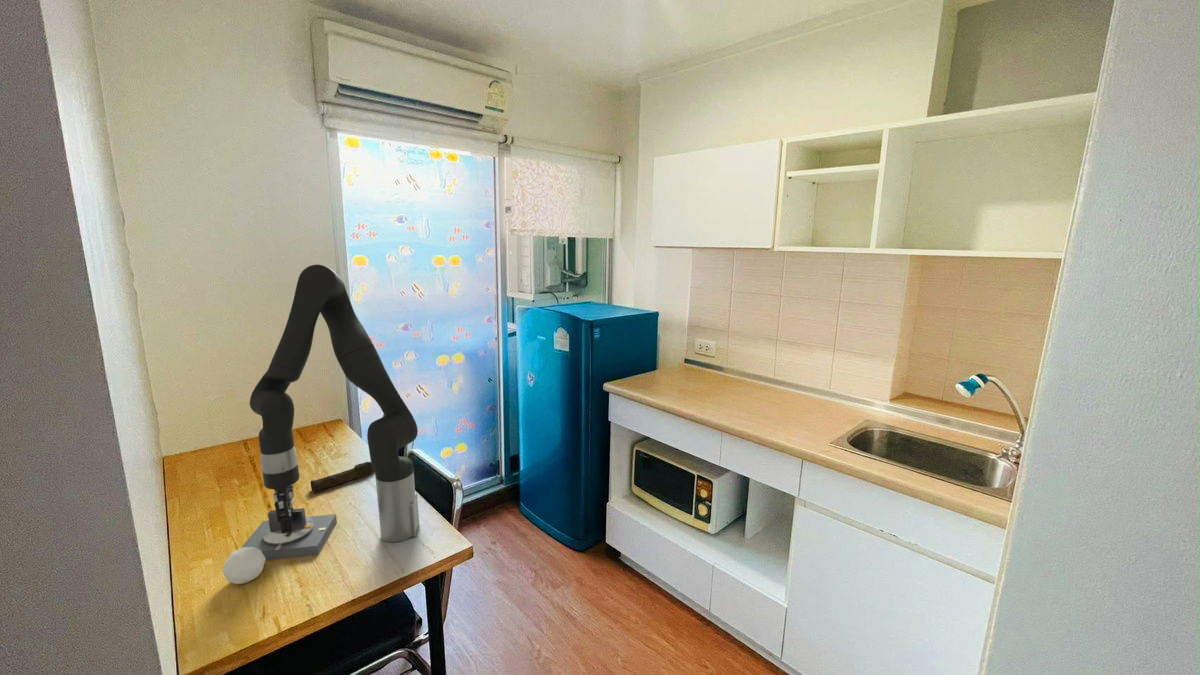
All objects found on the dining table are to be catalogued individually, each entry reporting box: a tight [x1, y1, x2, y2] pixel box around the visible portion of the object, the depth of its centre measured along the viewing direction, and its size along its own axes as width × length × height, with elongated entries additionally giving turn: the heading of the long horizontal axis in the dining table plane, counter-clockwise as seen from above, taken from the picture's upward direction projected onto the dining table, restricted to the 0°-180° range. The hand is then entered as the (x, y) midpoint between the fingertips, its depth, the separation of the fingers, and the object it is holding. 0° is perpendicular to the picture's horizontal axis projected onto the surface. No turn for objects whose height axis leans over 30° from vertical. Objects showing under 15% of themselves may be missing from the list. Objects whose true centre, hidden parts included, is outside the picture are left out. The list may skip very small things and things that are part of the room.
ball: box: [222, 546, 266, 585], centre depth 109 cm, size 8×8×8 cm
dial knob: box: [263, 507, 314, 545], centre depth 122 cm, size 11×11×6 cm
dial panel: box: [239, 513, 338, 561], centre depth 123 cm, size 18×14×3 cm
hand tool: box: [310, 461, 375, 494], centre depth 153 cm, size 19×4×5 cm, turn 133°
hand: (288, 525), depth 122 cm, fingers open, 5 cm apart
